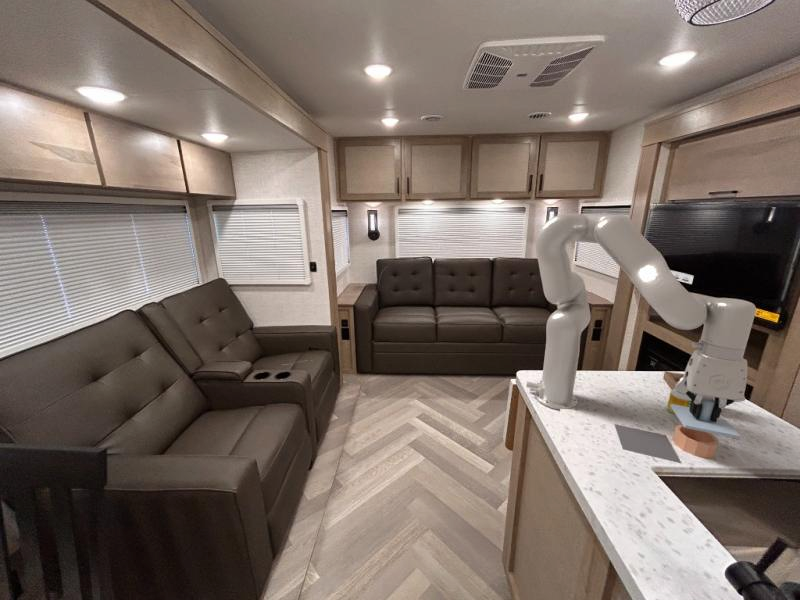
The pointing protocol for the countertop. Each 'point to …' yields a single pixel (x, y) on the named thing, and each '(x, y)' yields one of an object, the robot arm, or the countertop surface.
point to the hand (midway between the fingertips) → (703, 416)
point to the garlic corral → (672, 378)
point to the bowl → (695, 442)
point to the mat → (646, 443)
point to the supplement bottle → (677, 399)
